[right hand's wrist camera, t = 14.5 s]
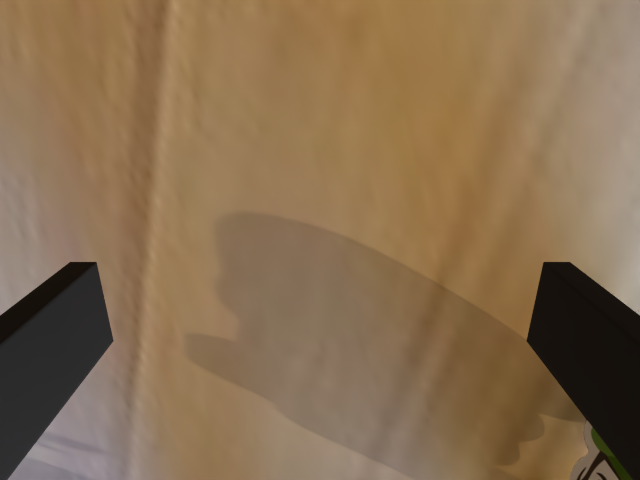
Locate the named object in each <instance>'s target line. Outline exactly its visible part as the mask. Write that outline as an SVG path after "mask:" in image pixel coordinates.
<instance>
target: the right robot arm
mask: <svg viewBox="0 0 640 480" xmlns="http://www.w3.org/2000/svg"><path fill="white" fill-rule="evenodd" d="M112 342H113V337H112V332H111V328H110V323H109V318H108V314H107V309H106V304H105V300H104V295H103V291H102V286H101V281H100V277H99V272H98V267H97V263H96V262H70V263H68V264H67V265H66V266H64V267H63V268H62V269H61V270H59V271H58V272H57V273H55V274H54V275H53V276H51V277H50V278H49V279H47V280H46V281H45V282H44V283H42V284H41V285H40V286H38V287H37V288H36V289H34V290H33V291H32V292H31V293H29V294H28V295H27V296H25V297H24V298H23V299H21V300H20V301H19V302H17V303H16V304H15V305H14V306H12V307H11V308H10V309H8V310H7V311H6V312H4V313H3V314H2V315H0V480H7V479H8V478H9V477H10V475H11V474H12V473H13V472H14V470H15V469H16V468H17V466H18V465H19V464H20V462H21V461H22V460H23V458H24V457H25V456H26V455H27V453H28V452H29V451H30V449H31V448H32V447H33V445H34V444H35V443H36V441H37V440H38V439H39V438H40V436H41V435H42V434H43V432H44V431H45V430H46V428H47V427H48V426H49V424H50V423H51V422H52V421H53V419H54V418H55V417H56V415H57V414H58V413H59V411H60V410H61V409H62V407H63V406H64V405H65V404H66V402H67V401H68V400H69V398H70V397H71V396H72V394H73V393H74V392H75V391H76V389H77V388H78V387H79V385H80V384H81V383H82V381H83V380H84V379H85V377H86V376H87V375H88V374H89V372H90V371H91V370H92V368H93V367H94V366H95V364H96V363H97V362H98V360H99V359H100V358H101V357H102V355H103V354H104V353H105V351H106V350H107V349H108V347H109V346H110V345H111V343H112ZM527 342H528V343H529V345H530V346H531V347H532V349H533V350H534V351H535V353H536V354H537V355H538V357H539V358H540V359H541V360H542V362H543V363H544V364H545V366H546V367H547V368H548V370H549V371H550V372H551V374H552V375H553V376H554V377H555V379H556V380H557V381H558V383H559V384H560V385H561V387H562V388H563V389H564V391H565V392H566V393H567V394H568V396H569V397H570V398H571V400H572V401H573V402H574V404H575V405H576V406H577V407H578V409H579V410H580V411H581V413H582V414H583V415H584V417H585V418H586V419H587V421H588V422H589V423H590V424H591V426H592V427H593V428H594V430H595V431H596V432H597V434H598V435H599V436H600V438H601V439H602V440H603V441H604V443H605V444H606V445H607V447H608V448H609V449H610V451H611V452H612V453H613V455H614V456H615V457H616V458H617V460H618V461H619V462H620V464H621V465H622V466H623V468H624V469H625V470H626V472H627V473H628V474H629V475H630V477H631V478H632V479H633V480H640V315H638V314H637V313H636V312H634V311H633V310H632V309H630V308H629V307H628V306H626V305H625V304H624V303H623V302H621V301H620V300H619V299H617V298H616V297H615V296H613V295H612V294H611V293H609V292H608V291H607V290H606V289H604V288H603V287H602V286H600V285H599V284H598V283H596V282H595V281H594V280H592V279H591V278H590V277H589V276H587V275H586V274H585V273H583V272H582V271H581V270H579V269H578V268H577V267H576V266H574V265H573V264H572V263H570V262H544V263H543V267H542V272H541V277H540V281H539V286H538V291H537V295H536V300H535V304H534V309H533V314H532V318H531V323H530V328H529V332H528V337H527Z"/></svg>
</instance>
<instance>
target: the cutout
mask: <svg viewBox="0 0 640 480" xmlns="http://www.w3.org/2000/svg"><path fill="white" fill-rule="evenodd" d="M584 440H585V444H586V446H587V448H588V450H589V451H588V453H587V455H586V456H584V457H582V458H580V459H579V460H578V461H577V463H576V464H575V465H574V468H573V469H572V471H571V474H570V478H569V480H633V479H632V478H631V477H630V475H629V474H628V473H627V472H626V470H625V469H624V468H623V466H622V465H621V464H620V462H619V461H618V460H617V458H616V457H615V456H614V455H613V453H612V452H611V451H610V449H609V448H608V447H607V445H606V444H605V443H604V441H603V440H602V439H601V438H600V436H599V435H598V434H597V432H596V431H595V430H594V428H593V427H592V426H591V424H590V423H589V422H588V421H586V423H585V426H584Z"/></svg>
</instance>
